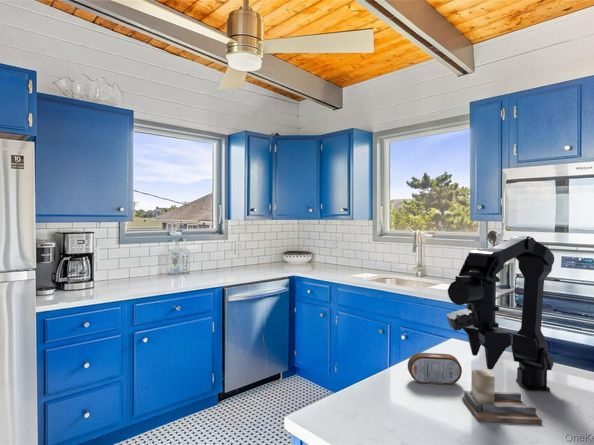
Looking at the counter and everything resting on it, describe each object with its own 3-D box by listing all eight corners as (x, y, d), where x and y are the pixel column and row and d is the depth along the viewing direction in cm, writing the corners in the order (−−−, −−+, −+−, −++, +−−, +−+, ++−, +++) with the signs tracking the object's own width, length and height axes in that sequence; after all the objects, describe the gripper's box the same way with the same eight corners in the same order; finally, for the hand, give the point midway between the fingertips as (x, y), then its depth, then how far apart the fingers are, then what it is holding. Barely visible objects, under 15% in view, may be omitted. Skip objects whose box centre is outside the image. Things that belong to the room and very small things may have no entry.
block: (487, 400, 99) (488, 370, 99) (494, 408, 96) (494, 376, 95) (471, 400, 100) (471, 369, 100) (477, 407, 96) (477, 375, 96)
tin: (459, 381, 113) (459, 353, 113) (462, 386, 110) (463, 357, 110) (407, 379, 115) (407, 351, 115) (409, 383, 112) (409, 355, 112)
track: (518, 402, 101) (519, 392, 101) (541, 423, 91) (542, 413, 90) (462, 400, 102) (462, 390, 102) (478, 421, 91) (478, 410, 91)
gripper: (439, 292, 107) (438, 348, 107) (463, 308, 88) (462, 376, 89) (480, 293, 106) (479, 349, 107) (514, 309, 88) (512, 377, 88)
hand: (481, 362), depth 97 cm, fingers open, 9 cm apart
